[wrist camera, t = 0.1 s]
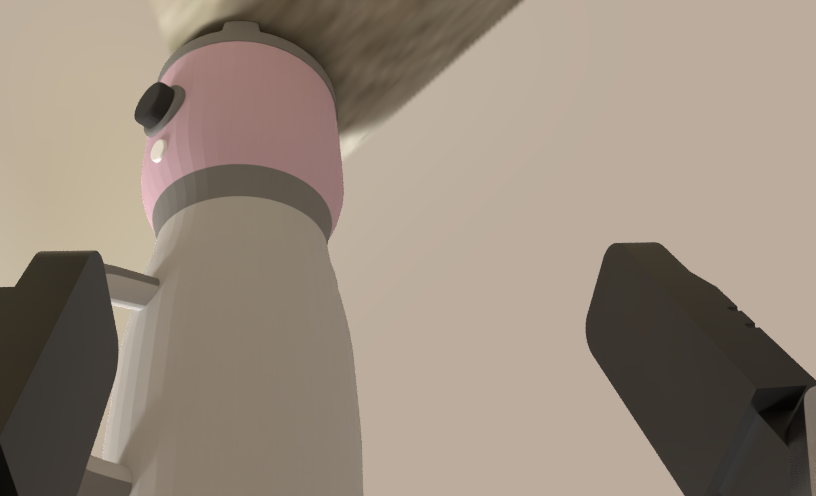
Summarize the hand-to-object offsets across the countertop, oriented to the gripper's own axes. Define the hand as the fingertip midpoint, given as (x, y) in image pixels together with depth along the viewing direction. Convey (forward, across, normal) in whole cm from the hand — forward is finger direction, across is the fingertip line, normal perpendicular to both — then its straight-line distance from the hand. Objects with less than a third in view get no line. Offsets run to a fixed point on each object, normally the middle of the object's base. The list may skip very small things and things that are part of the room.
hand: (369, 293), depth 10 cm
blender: (+36, +5, +7) cm, 37 cm away
